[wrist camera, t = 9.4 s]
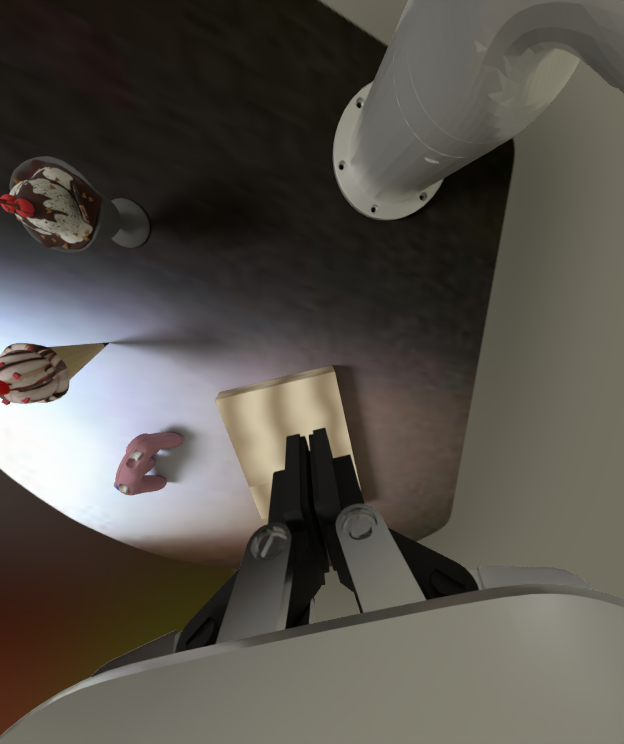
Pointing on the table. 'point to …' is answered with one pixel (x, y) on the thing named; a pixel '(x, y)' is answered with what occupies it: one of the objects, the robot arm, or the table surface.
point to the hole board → (281, 424)
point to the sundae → (70, 208)
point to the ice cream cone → (41, 370)
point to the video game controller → (143, 463)
